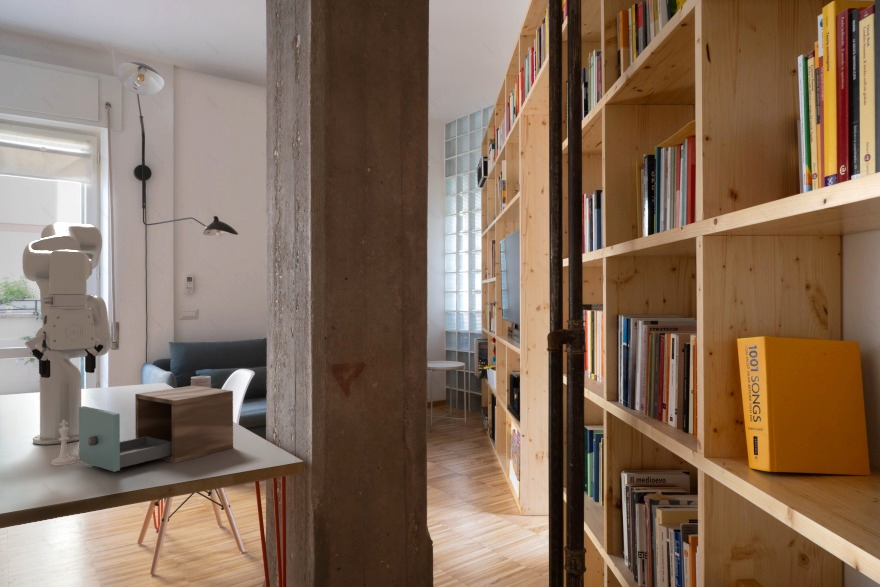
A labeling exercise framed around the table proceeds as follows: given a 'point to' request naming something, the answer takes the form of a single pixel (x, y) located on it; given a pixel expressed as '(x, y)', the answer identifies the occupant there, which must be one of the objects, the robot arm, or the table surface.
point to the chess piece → (63, 448)
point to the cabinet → (187, 419)
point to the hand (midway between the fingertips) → (68, 374)
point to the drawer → (114, 442)
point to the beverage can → (201, 381)
